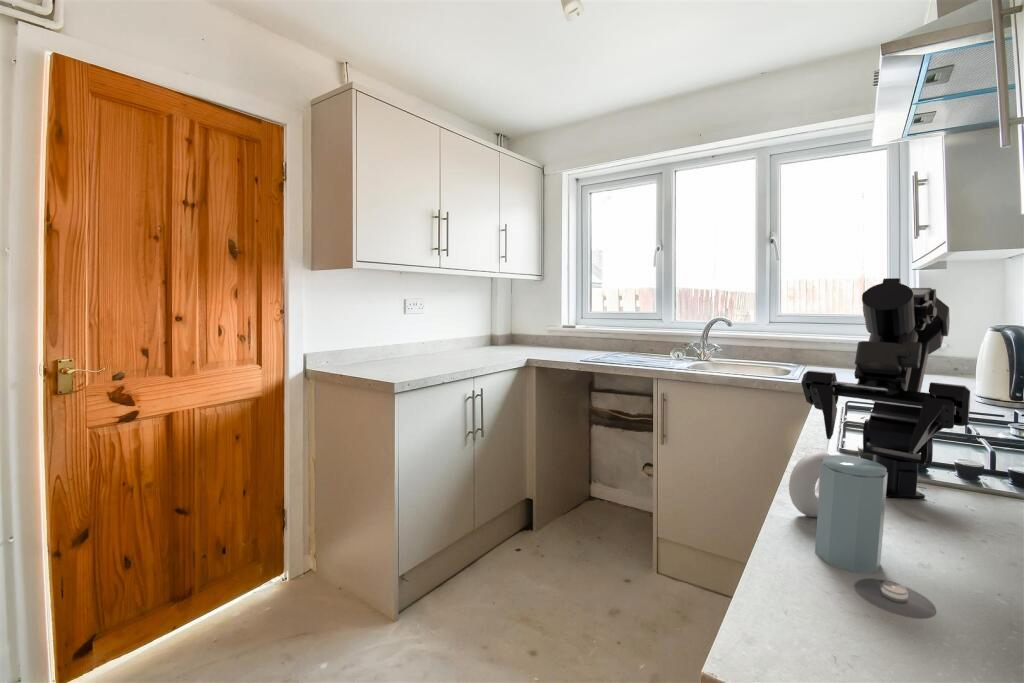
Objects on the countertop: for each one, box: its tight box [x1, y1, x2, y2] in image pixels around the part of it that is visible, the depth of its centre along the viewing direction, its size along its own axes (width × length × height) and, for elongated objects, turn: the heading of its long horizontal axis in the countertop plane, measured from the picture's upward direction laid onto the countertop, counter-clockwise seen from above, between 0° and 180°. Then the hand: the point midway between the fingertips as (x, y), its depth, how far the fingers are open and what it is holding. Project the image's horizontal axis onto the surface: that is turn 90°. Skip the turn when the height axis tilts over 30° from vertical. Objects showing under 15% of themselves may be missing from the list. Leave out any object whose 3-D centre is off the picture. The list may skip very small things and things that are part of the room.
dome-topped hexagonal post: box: [814, 454, 888, 574], centre depth 60 cm, size 6×6×13 cm
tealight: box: [880, 580, 908, 604], centre depth 53 cm, size 2×2×1 cm
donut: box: [788, 451, 831, 518], centre depth 73 cm, size 10×3×10 cm, turn 112°
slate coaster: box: [854, 578, 937, 619], centre depth 53 cm, size 7×7×1 cm
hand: (867, 444), depth 65 cm, fingers open, 9 cm apart
